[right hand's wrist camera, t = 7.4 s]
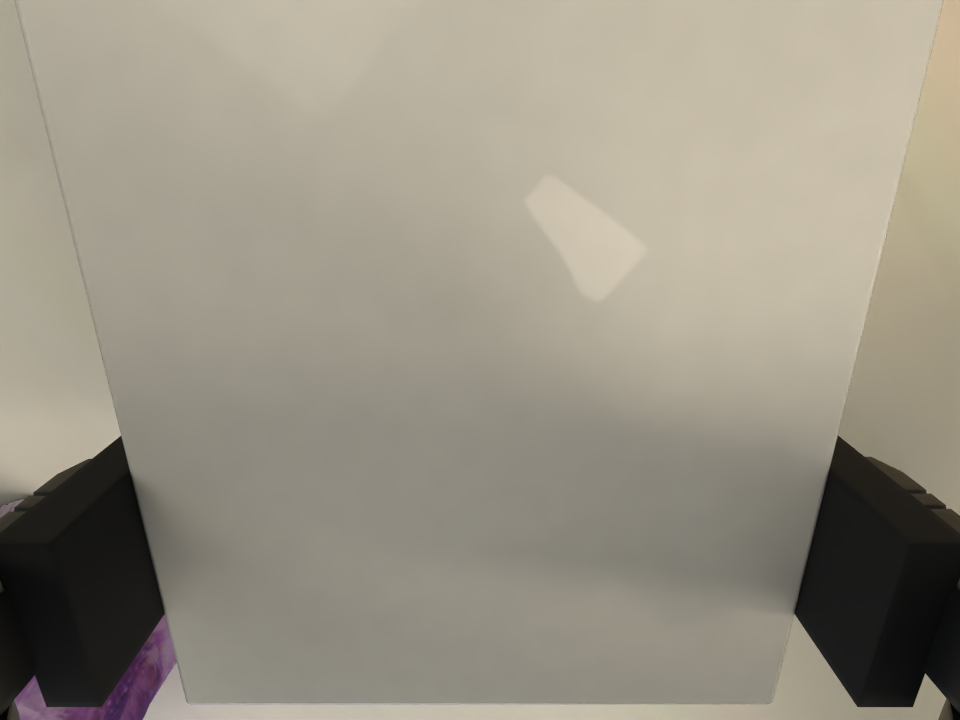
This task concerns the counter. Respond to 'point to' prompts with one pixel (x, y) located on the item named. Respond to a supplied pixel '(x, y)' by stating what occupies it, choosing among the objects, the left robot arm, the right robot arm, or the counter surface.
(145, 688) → the figurine
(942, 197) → the counter surface
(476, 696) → the cabinet
